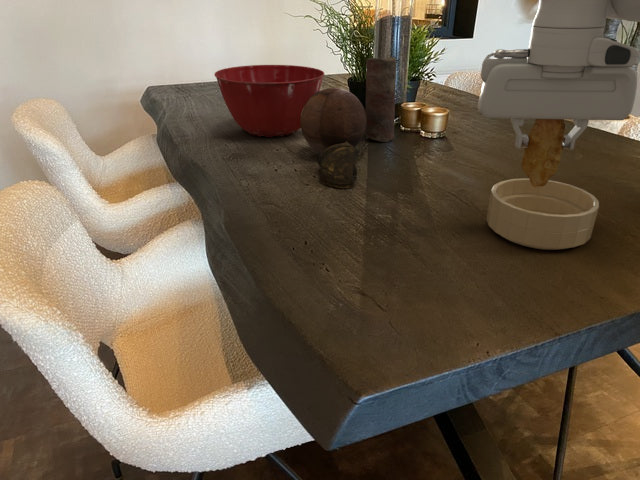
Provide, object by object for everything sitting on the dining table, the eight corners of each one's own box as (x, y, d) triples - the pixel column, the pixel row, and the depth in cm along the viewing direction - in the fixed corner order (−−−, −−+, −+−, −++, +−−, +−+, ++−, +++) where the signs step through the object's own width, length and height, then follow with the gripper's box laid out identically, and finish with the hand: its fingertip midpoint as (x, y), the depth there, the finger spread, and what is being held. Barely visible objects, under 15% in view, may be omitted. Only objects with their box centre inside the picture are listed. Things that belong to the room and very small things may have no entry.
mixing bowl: (332, 119, 144) (332, 64, 136) (314, 148, 119) (313, 82, 112) (240, 116, 148) (235, 62, 141) (204, 143, 123) (196, 79, 116)
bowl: (572, 213, 84) (581, 180, 82) (603, 256, 71) (614, 219, 68) (480, 208, 87) (485, 176, 84) (493, 249, 73) (500, 213, 70)
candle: (359, 140, 124) (362, 57, 115) (369, 133, 130) (372, 54, 121) (388, 144, 121) (393, 59, 112) (397, 137, 127) (402, 55, 118)
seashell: (366, 187, 95) (358, 153, 91) (321, 197, 96) (312, 164, 93) (361, 159, 109) (354, 129, 106) (322, 167, 110) (314, 138, 107)
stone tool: (519, 188, 75) (537, 88, 68) (517, 183, 77) (534, 85, 70) (555, 190, 74) (576, 88, 67) (551, 184, 76) (572, 85, 69)
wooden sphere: (374, 149, 118) (377, 85, 111) (348, 168, 106) (350, 97, 99) (319, 141, 124) (319, 80, 117) (289, 158, 112) (286, 91, 105)
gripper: (487, 52, 65) (474, 152, 72) (653, 51, 62) (624, 156, 68) (480, 46, 71) (469, 140, 77) (633, 46, 68) (608, 143, 74)
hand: (543, 148), depth 73 cm, fingers closed on stone tool, 5 cm apart
